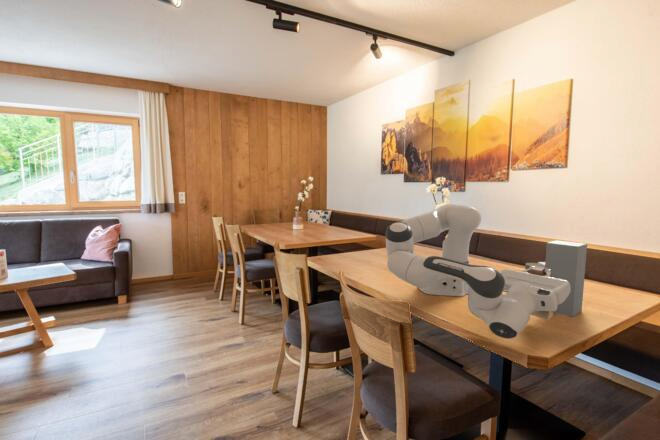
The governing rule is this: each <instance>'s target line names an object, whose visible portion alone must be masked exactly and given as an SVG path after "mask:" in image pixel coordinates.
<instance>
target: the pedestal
mask: <svg viewBox="0 0 660 440" xmlns="http://www.w3.org/2000/svg"><path fill="white" fill-rule="evenodd" d="M587 251H588V243H585V242H575V241H567V240H565V241H564V240H557V239H556V240H552V241H547V242H546V250H545V261H544V262H545V269H550V270H551V274H550V277H551V278H556V279H561V280H566V281H568V282H569V283H570V287H571V291H570V294H569V295H568V297H567V298H566V299H565V301H564V302H563V303H561V304H558V305H557V310H556V311H553V313H556V314H560V315H563V316H566V317H571V318H574V317H575V316H577V315H578V314H580V313H581V312H582V310H583V300H584V299H583V298H584V287H585V275H586V264H587V263H586V262H587Z"/></svg>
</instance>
